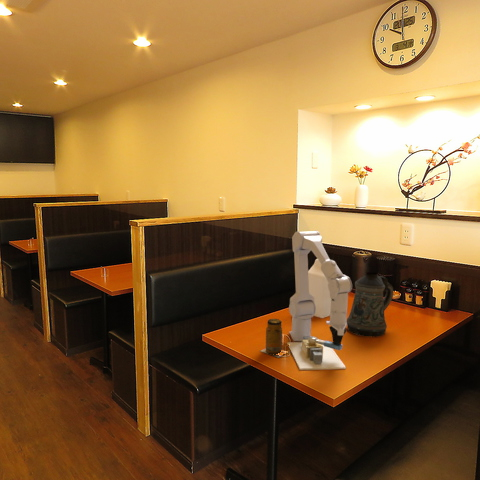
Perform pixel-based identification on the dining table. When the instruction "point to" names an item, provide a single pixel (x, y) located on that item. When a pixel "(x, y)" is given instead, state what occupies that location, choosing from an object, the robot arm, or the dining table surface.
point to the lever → (325, 343)
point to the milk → (319, 290)
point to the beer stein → (370, 306)
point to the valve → (312, 351)
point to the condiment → (273, 337)
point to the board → (328, 361)
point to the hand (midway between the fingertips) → (336, 346)
